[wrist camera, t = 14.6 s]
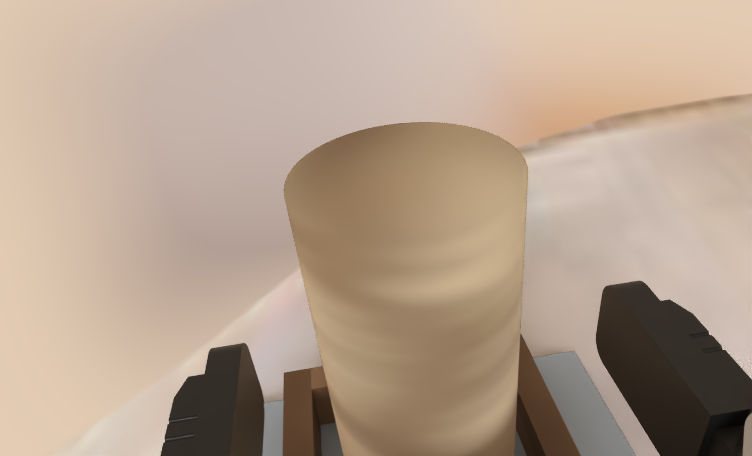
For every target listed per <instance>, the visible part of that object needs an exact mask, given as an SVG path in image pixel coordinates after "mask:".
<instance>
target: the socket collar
mask: <svg viewBox="0 0 752 456" xmlns="http://www.w3.org/2000/svg"><path fill="white" fill-rule="evenodd" d="M335 422H336V421H335V416H334V412H333V408H332V403H331V399H330V395H329V390H328V386H327V381H326V377H325V373H324V368H323V366H322V367H316V368H310V369H304V370H298V371H292V372H286V373H284V401H283V456H322V449H321V429H320V425H323V424H329V423H335ZM516 430H517V433H518V435H519V438H520V440H521V443H522V445H523V448H524V450H525V453H526V455H527V456H581V455H580V453H579V451H578V449H577V447H576V445H575V443H574V441H573V439H572V437H571V435H570V433H569V431H568V429H567V426H566V424H565V422H564V420H563V418H562V416H561V414H560V412H559V410H558V408H557V406H556V404H555V402H554V400H553V398H552V396H551V394H550V392H549V390H548V388H547V386H546V384H545V382H544V380H543V378H542V376H541V374H540V372H539V370H538V368H537V366H536V364H535V361H534V359H533V357H532V355H531V353H530V351H529V349H528V347H527V345H526V343H525V341H524V339H523V337H522V335H521V333H520V348H519V368H518V388H517V409H516Z"/></svg>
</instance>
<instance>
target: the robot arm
mask: <svg viewBox="0 0 752 456" xmlns="http://www.w3.org/2000/svg"><path fill="white" fill-rule="evenodd" d="M596 344H597V349H598V353H599V356H600V358H601V361H602V362H603V364H604V366H605V367H606V369H607V371H608V372H609V374H610V376H611V377H612V379H613V380H614V382H615V384H616V385H617V387H618V388H619V390H620V392H621V393H622V395H623V396H624V398H625V400H626V401H627V403H628V404H629V406H630V408H631V409H632V411H633V412H634V414H635V416H636V417H637V419H638V421H639V422H640V424H641V425H642V427H643V429H644V430H645V432H646V433H647V435H648V437H649V438H650V440H651V441H652V443H653V445H654V446H655V448H656V449H657V451H658V453H659V454H660V456H752V380H751V378H750V377H749V376H748V375H747V374H746V373H745V372H744V371H743V369H742V368H741V367H740V366H739V365H738V364H737V363H736V362H735V361H734V359H733V358H732V357H731V356H730V355H729V354H728V353H727V352H726V350H722V346H721V345H720V344H719V343H718V342H717V340H716V339H715V338H714V337H713V336H712V335H709V331H708V330H707V329H706V328H705V327H704V326H703V325H702V324H701V323H700V321H699V320H698V319H697V318H696V317H695V316H694V315H693V314H692V313H691V312H689V311H687V310H686V309H684V308H682V307H681V306H679V305H678V304H676V303H674V302H673V301H671V300H664V301H660V300H659V299H658V298H657V297H656V295H655V294H654V293H653V292H652V291H651V289H650V288H649V287H648V286H647V285H646V284H645V283H644V282H642V281H634V282H628V283H622V284H615V285H609V286H606V287H605V288H604V290H603V293H602V299H601V306H600V312H599V319H598V325H597V332H596ZM264 420H265V411H264V400H263V394H262V390H261V386H260V383H259V380H258V377H257V374H256V371H255V368H254V365H253V361H252V358H251V355H250V352H249V349H248V347H247V345H246V344H245V343H242V344H236V345H230V346H223V347H217V348H211V349H210V351H209V354H208V359H207V364H206V370H205V374H203V375H197V376H191V377H188V378H187V379H186V381H185V382H184V384H183V385H182V387H181V388H180V390H179V391H178V393H177V394H176V396H175V397H174V400H173V404H172V409H171V413H170V417H169V424H168V426H167V430H166V434H165V443H163V447H162V452H161V456H262V454H263V437H264Z"/></svg>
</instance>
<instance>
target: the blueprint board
mask: <svg viewBox="0 0 752 456" xmlns="http://www.w3.org/2000/svg"><path fill="white" fill-rule="evenodd" d="M533 359H534V361H535V364H536V366H537V368H538V370H539V372H540V374H541V376H542V378H543V380H544V382H545V384H546V386H547V388H548V390H549V392H550V394H551V396H552V398H553V400H554V402H555V404H556V406H557V408H558V410H559V412H560V414H561V416H562V418H563V420H564V422H565V424H566V426H567V429H568V431H569V433H570V435H571V437H572V439H573V441H574V443H575V445H576V447H577V449H578V451H579V453H580V455H581V456H636V455H635V453H634V452H633V450H632V448H631V446H630V445H629V443H628V441H627V440H626V438H625V436H624V435H623V433H622V431H621V429H620V428H619V426H618V424H617V423H616V421H615V419H614V417H613V416H612V414H611V412H610V411H609V409H608V407H607V406H606V404H605V402H604V400H603V399H602V397H601V395H600V394H599V392H598V390H597V388H596V387H595V385H594V383H593V382H592V380H591V378H590V377H589V375H588V373H587V371H586V370H585V368H584V366H583V365H582V363H581V361H580V359H579V358H578V356H577V354H576V353H575V351H569V352H563V353H557V354H551V355H546V356H540V357H534V358H533ZM283 401H284V400H279V401H274V402H268V403H264V411H265V420H264V437H263V454H262V456H283ZM320 429H321V449H322V456H343V451H342V447H341V443H340V438H339V434H338V430H337V425H336V422H335V423H329V424H323V425H320ZM514 456H527V455H526V453H525V450H524V448H523V445H522V443H521V440H520V438H519V435H518V433H517V430H516V429H515V449H514Z"/></svg>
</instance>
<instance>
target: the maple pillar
mask: <svg viewBox="0 0 752 456" xmlns="http://www.w3.org/2000/svg"><path fill="white" fill-rule="evenodd" d="M527 185H528V167H527V164H526V161H525V159H524V157H523V156H522V154H521V153H520V152H519V151H518V150H517V149H516V148H515V147H514V146H513V145H511V144H510V143H509V142H507V141H506V140H504V139H502V138H500V137H498V136H496V135H493V134H491V133H489V132H486V131H483V130H480V129H476V128H472V127H468V126H462V125H456V124H448V123H433V122H415V123H414V122H413V123H399V124H391V125H384V126H379V127H373V128H369V129H364V130H360V131H357V132H354V133H350V134H347V135H345V136H342V137H339V138H336V139H334V140H332V141H330V142H327V143H325V144H323V145H321V146H320V147H318V148H316V149H314V150H313V151H311V152H310V153H308V154H307V155H306V156H304V157H303V158H302V159H301V160H300V161H299V162H298V163H297V164H296V165H295V166H294V167H293V168H292V170H291V171H290V173H289V174H288V176H287V178H286V181H285V185H284V198H285V202H286V206H287V211H288V215H289V219H290V223H291V228H292V233H293V237H294V241H295V246H296V250H297V255H298V259H299V263H300V268H301V272H302V276H303V281H304V285H305V290H306V294H307V298H308V303H309V307H310V311H311V316H312V320H313V325H314V329H315V333H316V338H317V342H318V346H319V351H320V355H321V360H322V364H323V368H324V373H325V377H326V381H327V386H328V390H329V395H330V399H331V403H332V408H333V412H334V416H335V421H336V425H337V430H338V434H339V438H340V443H341V447H342V451H343V456H514V449H515V429H516V409H517V388H518V368H519V348H520V328H521V307H522V287H523V267H524V246H525V226H526V206H527Z"/></svg>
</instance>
